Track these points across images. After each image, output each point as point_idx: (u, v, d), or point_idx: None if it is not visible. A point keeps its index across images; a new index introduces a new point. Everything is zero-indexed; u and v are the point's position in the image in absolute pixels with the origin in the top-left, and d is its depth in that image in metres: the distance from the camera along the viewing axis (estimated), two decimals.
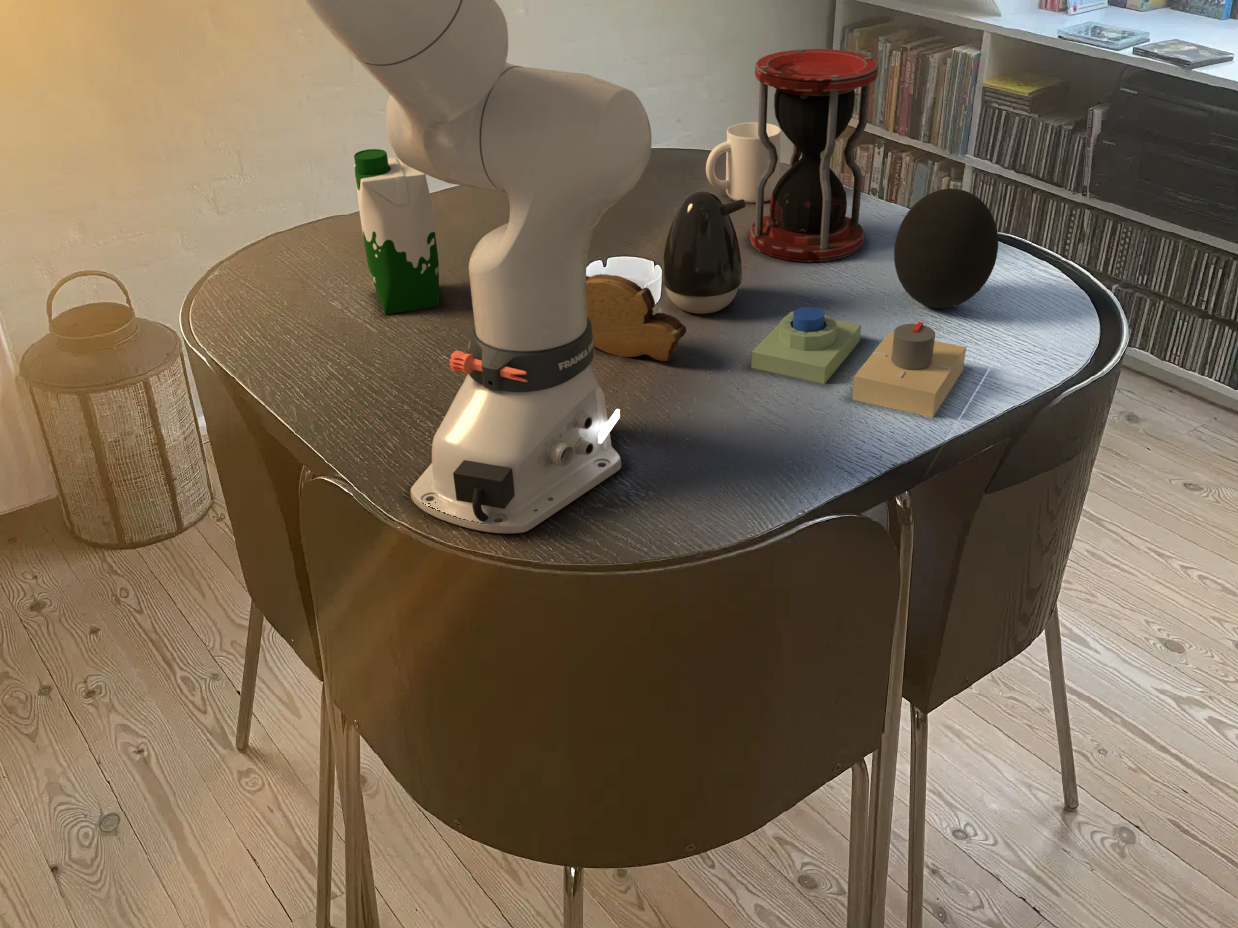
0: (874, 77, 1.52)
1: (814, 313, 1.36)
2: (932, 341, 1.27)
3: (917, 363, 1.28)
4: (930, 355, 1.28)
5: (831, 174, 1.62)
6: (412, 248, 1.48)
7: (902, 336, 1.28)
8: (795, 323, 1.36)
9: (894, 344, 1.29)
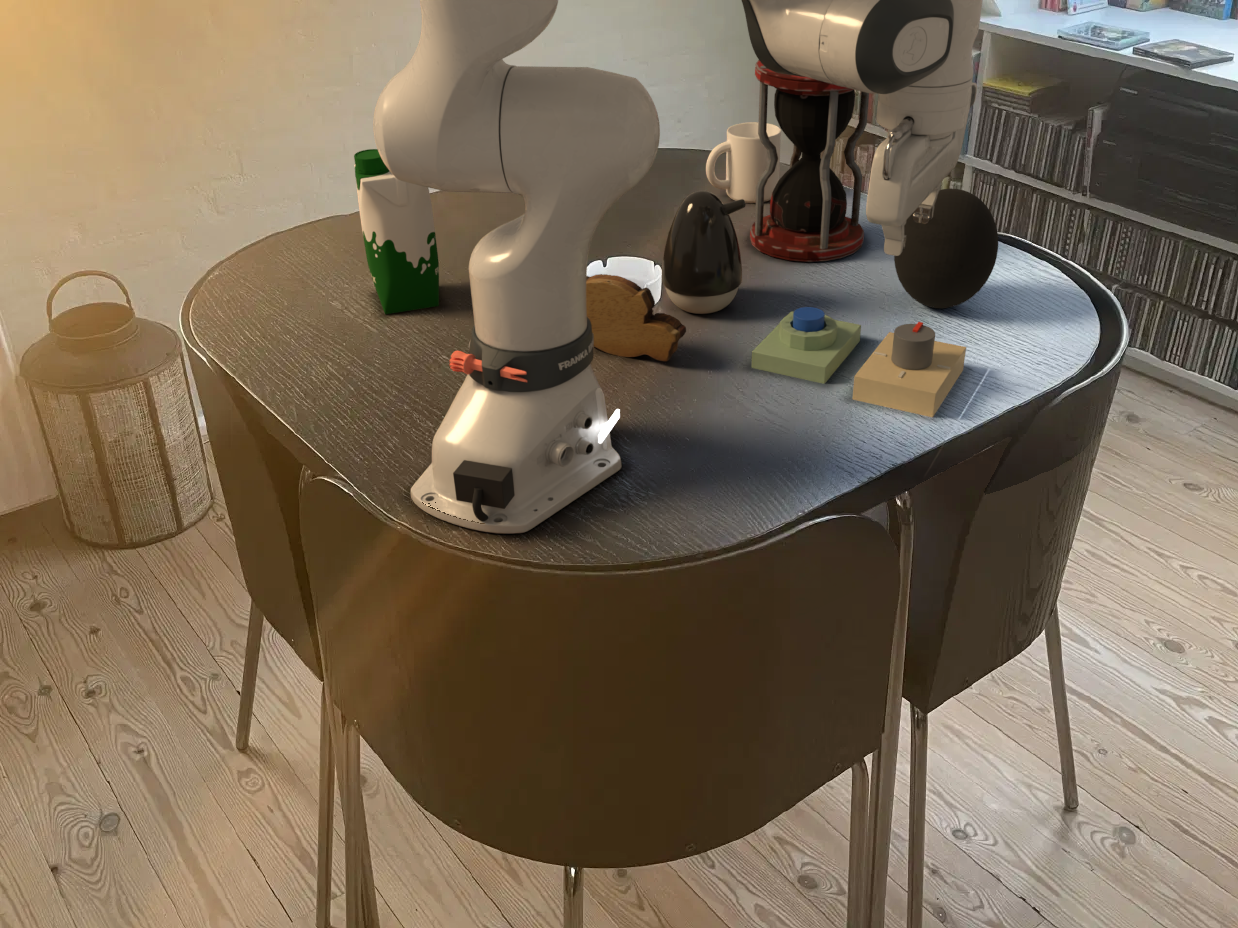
0: None
1: (814, 313, 1.36)
2: (932, 341, 1.27)
3: (917, 363, 1.28)
4: (930, 355, 1.28)
5: (831, 174, 1.62)
6: (412, 248, 1.48)
7: (902, 336, 1.28)
8: (795, 323, 1.36)
9: (894, 344, 1.29)
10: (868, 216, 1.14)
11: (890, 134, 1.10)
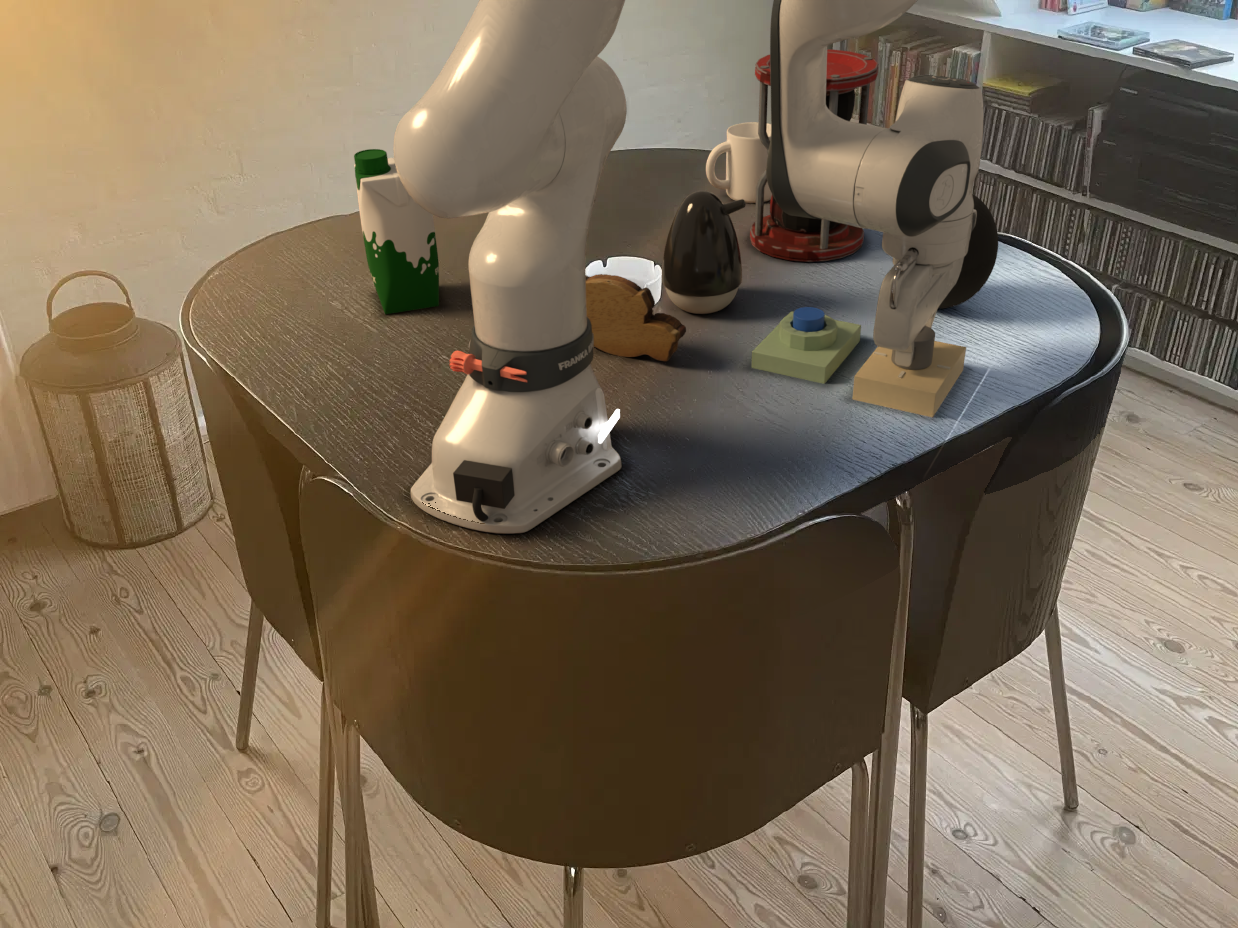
0: (874, 77, 1.52)
1: (814, 313, 1.36)
2: (932, 341, 1.27)
3: (917, 363, 1.28)
4: (930, 355, 1.28)
5: None
6: (412, 248, 1.48)
7: None
8: (795, 323, 1.36)
9: None
10: (875, 341, 1.20)
11: (896, 267, 1.16)
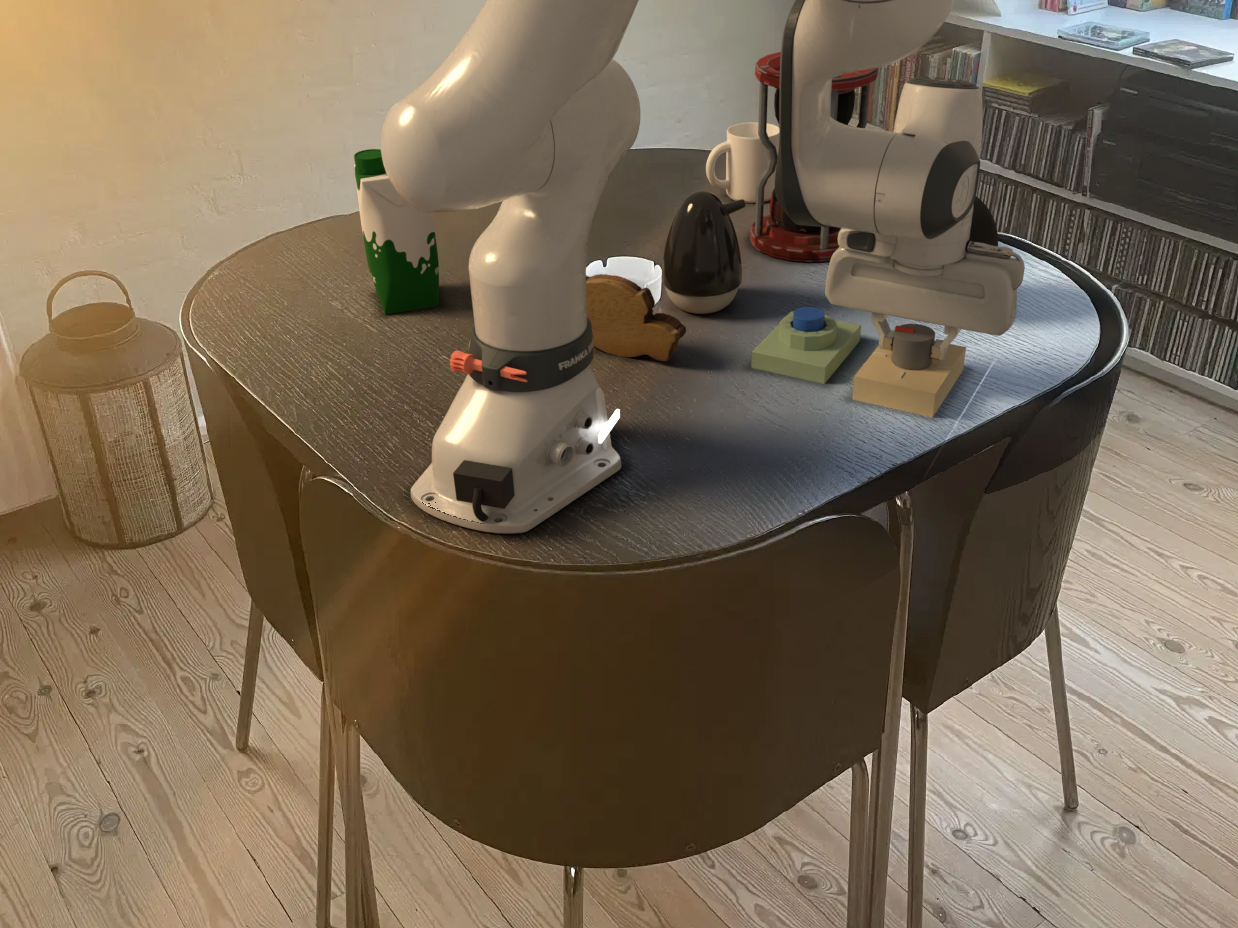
0: (874, 77, 1.52)
1: (814, 313, 1.36)
2: None
3: None
4: None
5: None
6: (412, 248, 1.48)
7: (926, 338, 1.27)
8: (795, 323, 1.36)
9: (921, 351, 1.27)
10: (1007, 329, 1.22)
11: (1010, 252, 1.19)
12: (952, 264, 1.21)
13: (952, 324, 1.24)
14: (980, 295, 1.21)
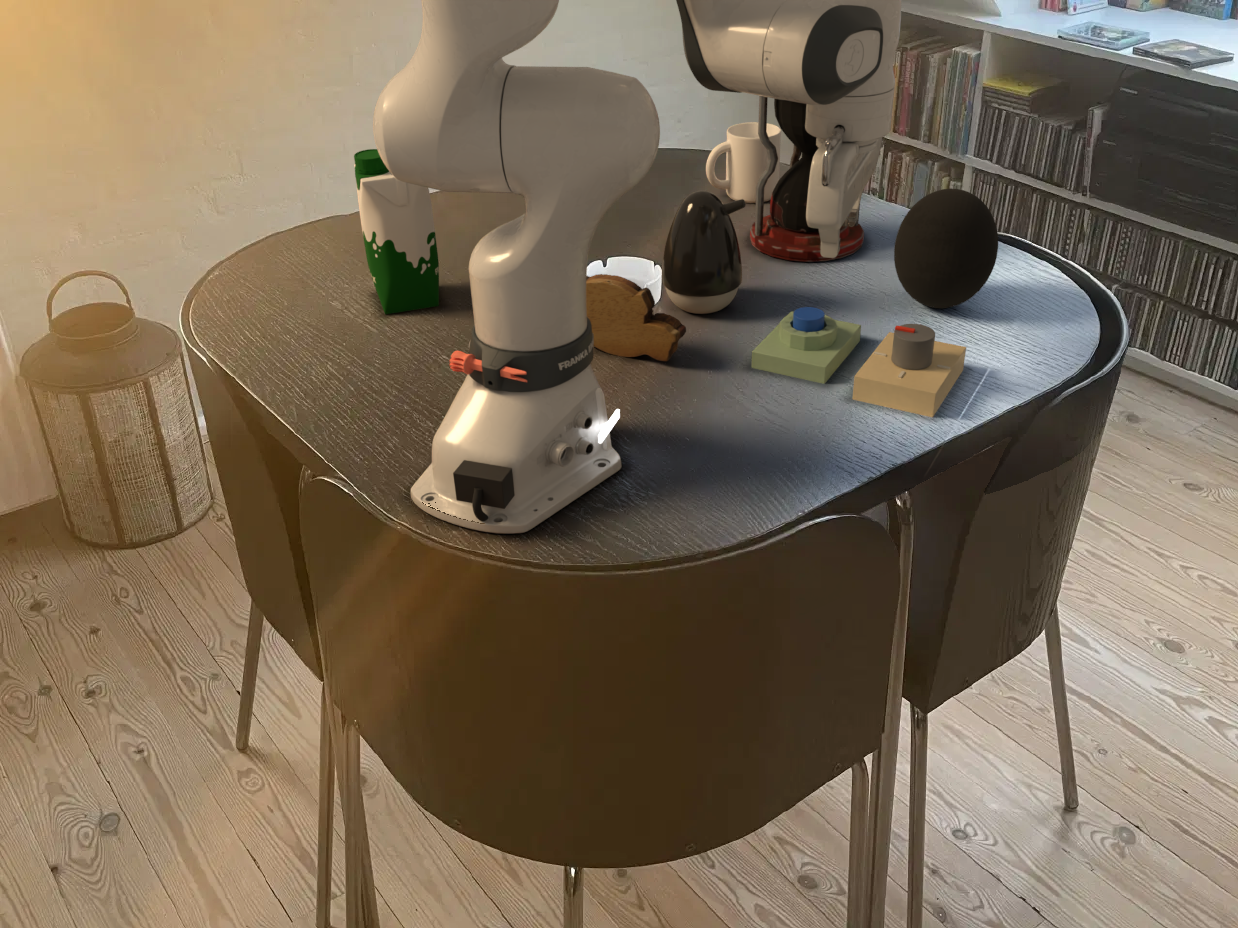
0: None
1: (814, 313, 1.36)
2: None
3: None
4: None
5: None
6: (412, 248, 1.48)
7: (926, 338, 1.27)
8: (795, 323, 1.36)
9: (921, 351, 1.27)
10: (808, 221, 1.19)
11: (826, 142, 1.15)
12: (823, 141, 1.21)
13: None
14: None
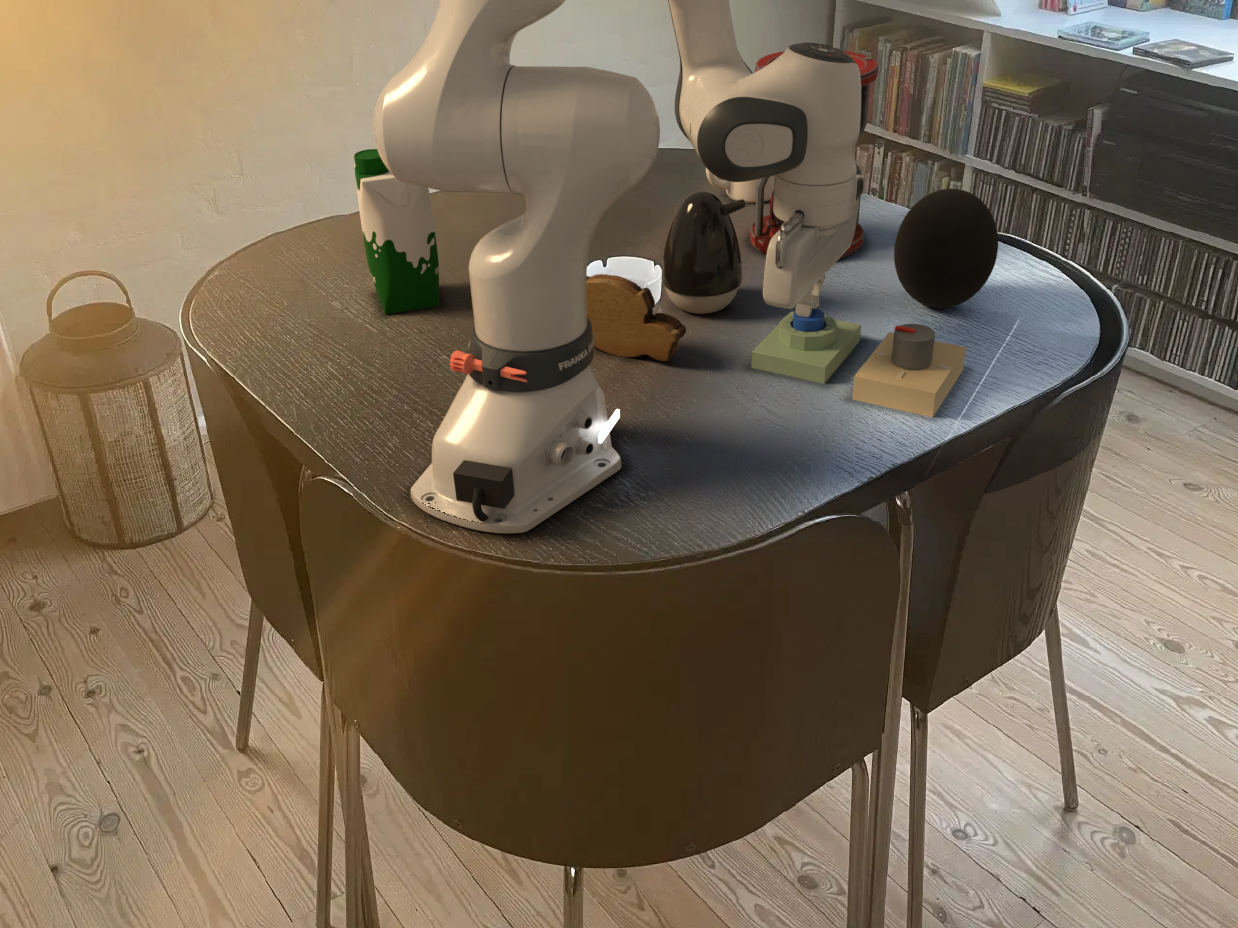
0: (874, 77, 1.52)
1: (814, 314, 1.36)
2: None
3: None
4: None
5: None
6: (412, 248, 1.48)
7: (926, 338, 1.27)
8: (795, 324, 1.36)
9: (921, 351, 1.27)
10: (765, 299, 1.27)
11: (781, 228, 1.23)
12: None
13: None
14: None
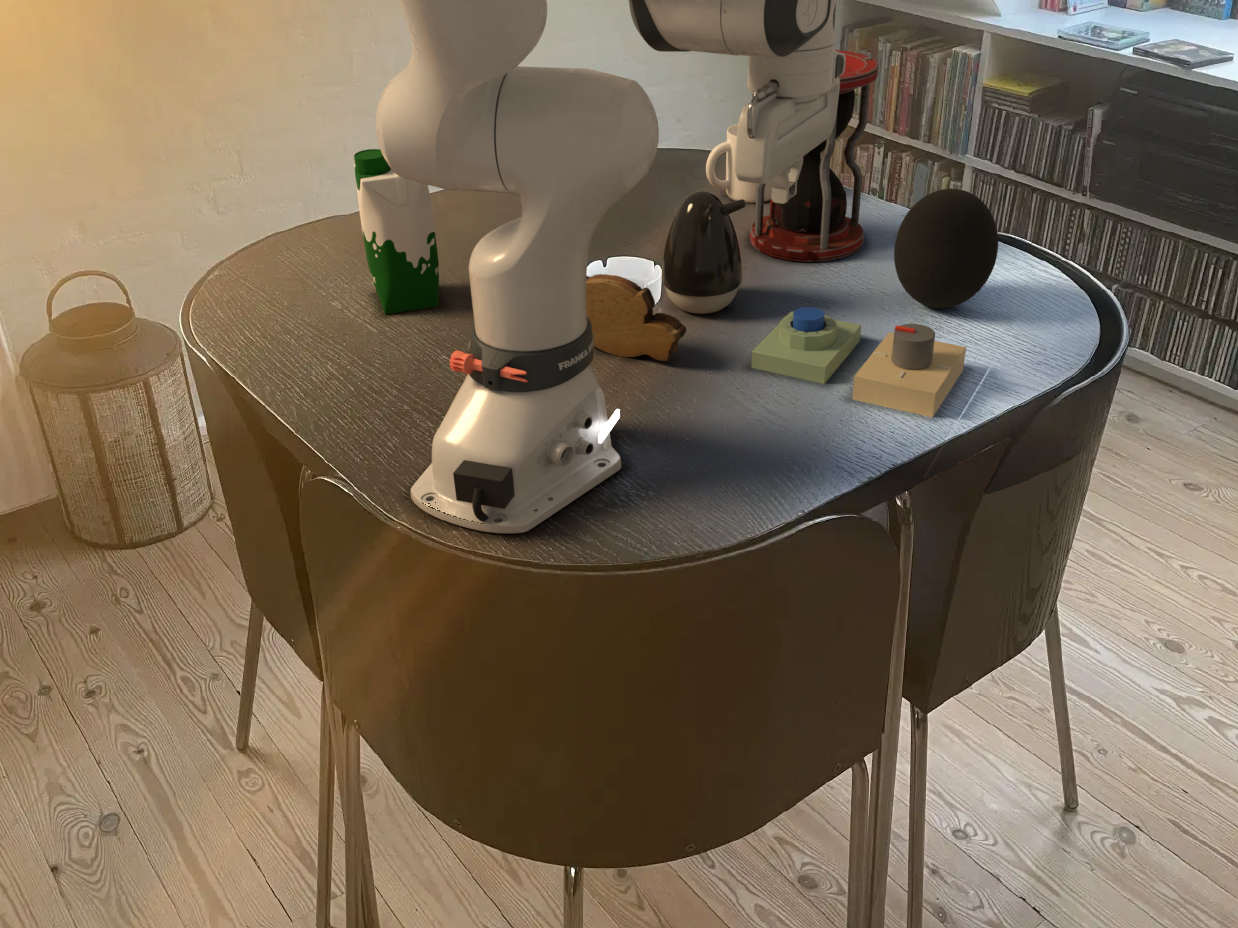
0: (874, 77, 1.52)
1: (814, 313, 1.36)
2: None
3: None
4: None
5: (831, 174, 1.62)
6: (412, 248, 1.48)
7: (926, 338, 1.27)
8: (795, 323, 1.36)
9: (921, 351, 1.27)
10: (736, 173, 1.20)
11: (753, 94, 1.16)
12: None
13: None
14: None
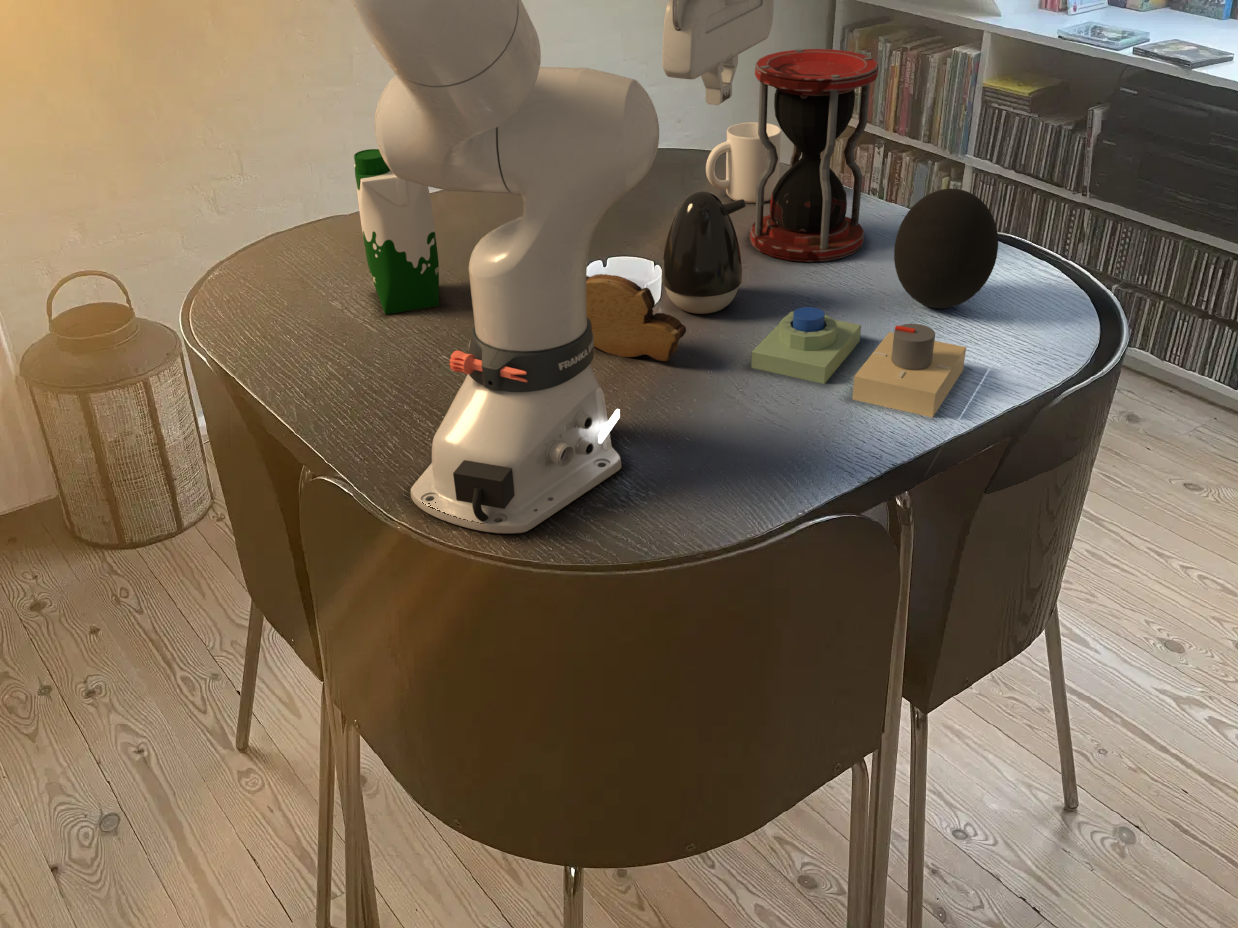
0: (874, 77, 1.52)
1: (814, 313, 1.36)
2: None
3: None
4: None
5: (831, 174, 1.62)
6: (412, 248, 1.48)
7: (926, 338, 1.27)
8: (795, 323, 1.36)
9: (921, 351, 1.27)
10: (664, 69, 1.17)
11: None
12: None
13: None
14: None
